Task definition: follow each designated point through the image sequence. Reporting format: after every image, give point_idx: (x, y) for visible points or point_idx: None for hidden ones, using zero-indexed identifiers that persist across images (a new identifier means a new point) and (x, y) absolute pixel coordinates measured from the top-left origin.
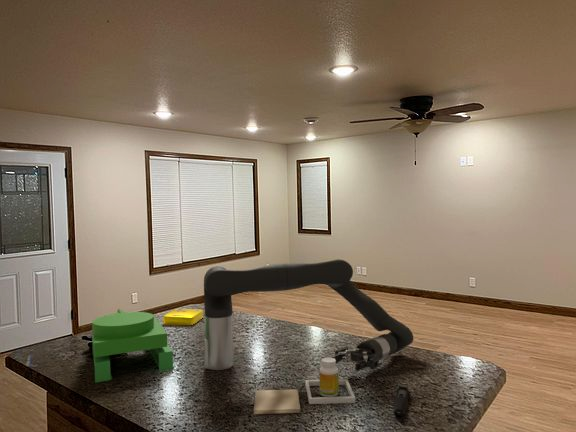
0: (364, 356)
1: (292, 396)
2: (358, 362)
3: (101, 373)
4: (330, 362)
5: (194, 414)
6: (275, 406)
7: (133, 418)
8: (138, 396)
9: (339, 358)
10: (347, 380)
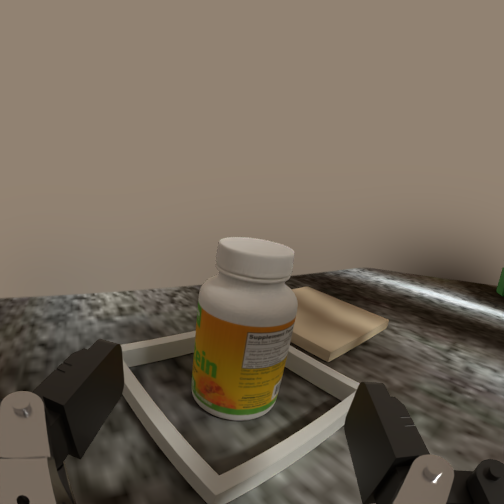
0: (34, 455)
1: (300, 325)
2: (97, 355)
3: (501, 283)
4: (230, 237)
5: (364, 282)
6: None
7: (390, 271)
8: (448, 288)
9: (371, 465)
10: (202, 479)
